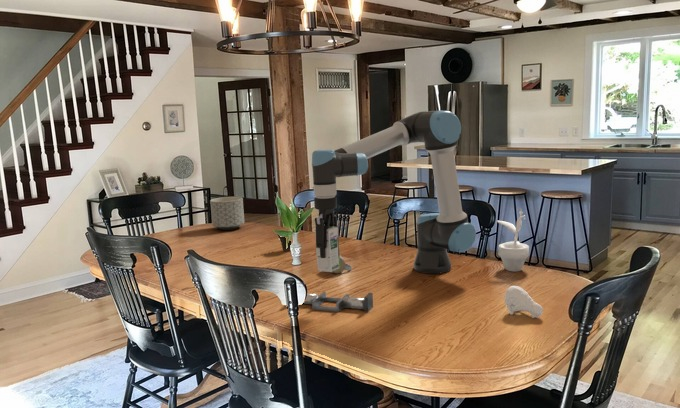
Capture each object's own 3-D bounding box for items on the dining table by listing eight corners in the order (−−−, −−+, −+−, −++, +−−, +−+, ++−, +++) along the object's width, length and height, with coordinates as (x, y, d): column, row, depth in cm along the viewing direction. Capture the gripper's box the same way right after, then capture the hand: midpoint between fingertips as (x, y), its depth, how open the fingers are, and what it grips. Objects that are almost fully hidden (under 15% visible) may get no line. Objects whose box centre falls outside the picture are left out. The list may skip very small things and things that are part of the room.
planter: (207, 232, 316) (205, 202, 313) (220, 225, 334) (217, 196, 331) (238, 232, 313) (236, 201, 310) (249, 225, 331) (246, 196, 328)
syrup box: (331, 272, 178) (329, 229, 175) (316, 270, 181) (314, 228, 178) (340, 268, 182) (338, 226, 180) (326, 266, 186) (324, 225, 183)
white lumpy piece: (513, 281, 172) (549, 293, 164) (511, 306, 174) (546, 318, 166) (503, 286, 168) (538, 298, 160) (500, 311, 170) (535, 324, 162)
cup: (298, 251, 258) (294, 231, 257) (280, 254, 258) (275, 234, 257) (299, 247, 267) (296, 228, 266) (282, 250, 267) (278, 231, 266)
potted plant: (533, 268, 215) (534, 207, 211) (521, 275, 207) (521, 211, 203) (504, 263, 224) (504, 204, 219) (490, 270, 215) (490, 209, 211)
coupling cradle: (375, 304, 183) (374, 290, 182) (365, 314, 174) (365, 300, 173) (299, 297, 193) (299, 284, 193) (287, 307, 185) (286, 293, 184)
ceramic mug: (329, 275, 219) (329, 257, 218) (324, 270, 227) (323, 252, 225) (354, 272, 222) (353, 254, 221) (348, 267, 230) (347, 250, 229)
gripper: (326, 192, 188) (329, 256, 191) (302, 201, 170) (306, 271, 174) (346, 192, 185) (349, 257, 189) (324, 201, 167) (327, 272, 171)
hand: (328, 263), depth 181 cm, fingers closed on syrup box, 6 cm apart
